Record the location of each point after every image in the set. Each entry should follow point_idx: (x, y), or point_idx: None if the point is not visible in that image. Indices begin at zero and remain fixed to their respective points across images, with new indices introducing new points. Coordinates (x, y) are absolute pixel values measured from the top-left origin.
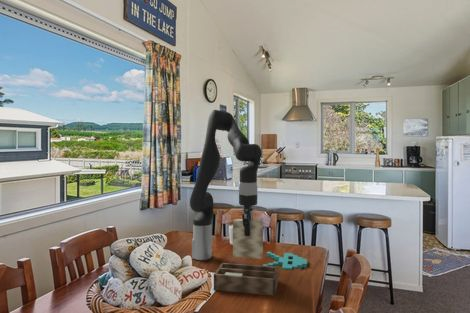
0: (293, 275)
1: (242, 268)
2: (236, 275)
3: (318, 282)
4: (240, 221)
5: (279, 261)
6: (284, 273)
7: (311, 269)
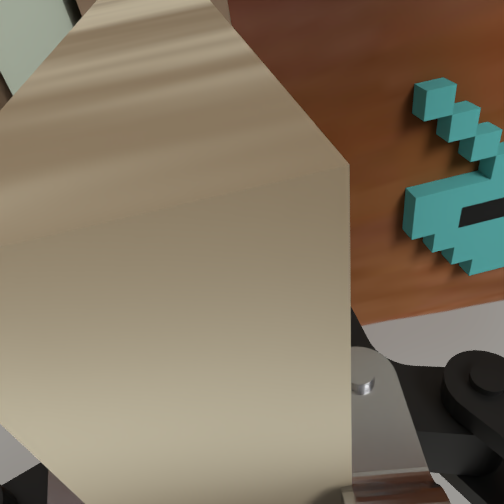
0: (363, 245)
1: None
2: (33, 62)
3: None
4: (82, 473)
5: (501, 160)
6: (379, 206)
7: (439, 283)
